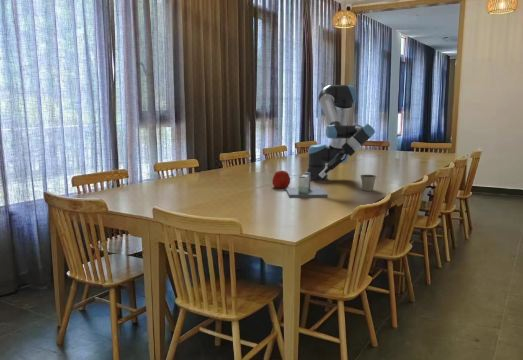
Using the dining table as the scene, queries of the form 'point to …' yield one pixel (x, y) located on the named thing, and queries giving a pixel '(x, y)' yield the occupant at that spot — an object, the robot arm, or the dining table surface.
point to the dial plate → (310, 193)
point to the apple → (281, 179)
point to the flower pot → (368, 182)
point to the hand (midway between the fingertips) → (320, 176)
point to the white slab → (304, 181)
